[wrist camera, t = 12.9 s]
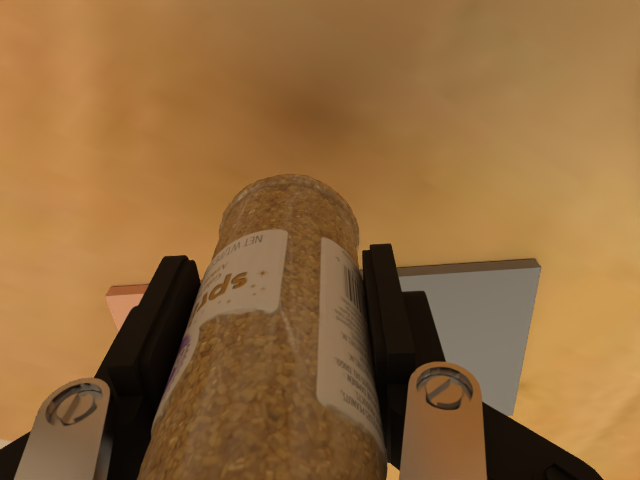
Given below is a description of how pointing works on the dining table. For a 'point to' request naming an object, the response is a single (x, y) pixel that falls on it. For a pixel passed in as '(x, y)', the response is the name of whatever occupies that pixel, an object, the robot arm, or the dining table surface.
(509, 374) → the gray tile
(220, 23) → the dining table surface
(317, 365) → the sprinkles bottle
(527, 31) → the dining table surface
